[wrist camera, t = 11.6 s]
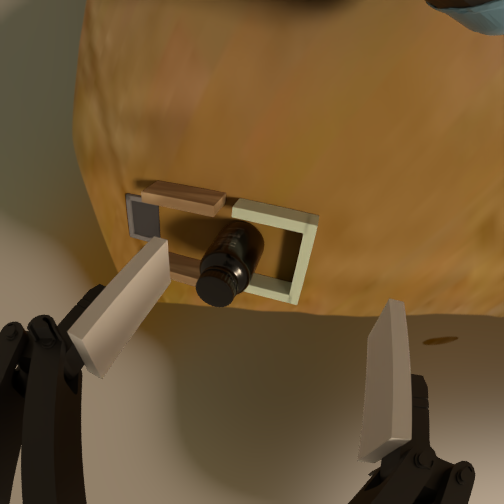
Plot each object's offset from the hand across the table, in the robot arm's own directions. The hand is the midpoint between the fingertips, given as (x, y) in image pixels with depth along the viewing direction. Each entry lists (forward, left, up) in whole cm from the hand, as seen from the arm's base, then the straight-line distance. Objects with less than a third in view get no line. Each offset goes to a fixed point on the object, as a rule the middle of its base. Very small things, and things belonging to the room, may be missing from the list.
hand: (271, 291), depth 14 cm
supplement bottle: (+15, -8, -26) cm, 31 cm away
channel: (+15, -17, -26) cm, 34 cm away
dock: (+15, -4, -26) cm, 30 cm away
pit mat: (+15, -25, -26) cm, 39 cm away
